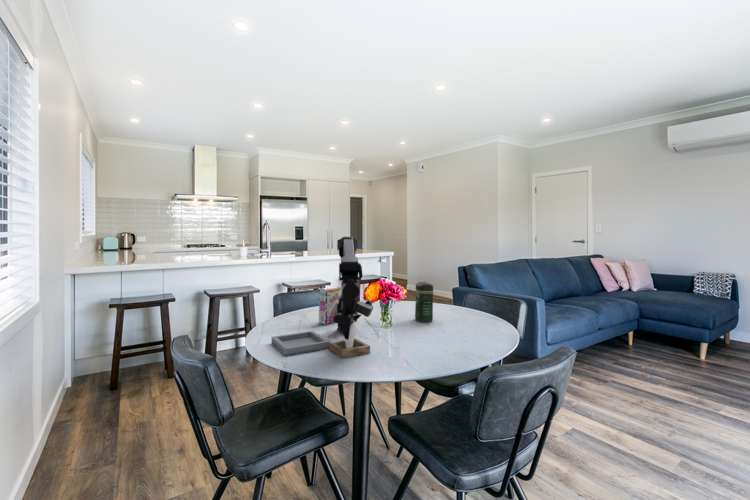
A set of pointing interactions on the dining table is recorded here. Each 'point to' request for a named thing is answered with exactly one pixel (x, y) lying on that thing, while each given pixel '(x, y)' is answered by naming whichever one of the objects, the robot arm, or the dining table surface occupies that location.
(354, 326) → the lightbulb
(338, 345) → the tray
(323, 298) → the candy bar box
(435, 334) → the dining table surface
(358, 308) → the robot arm
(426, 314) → the coffee jar
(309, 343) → the tray
